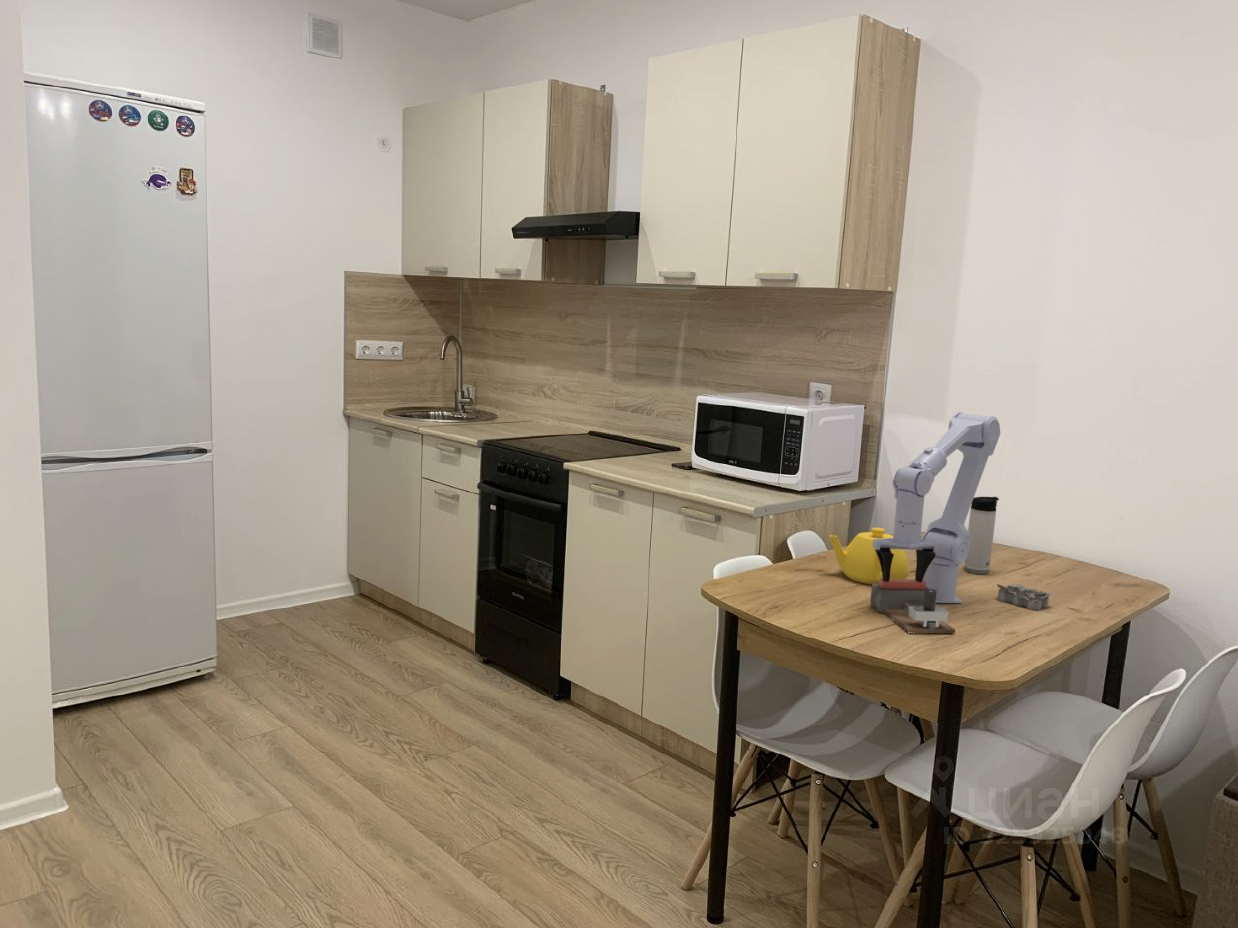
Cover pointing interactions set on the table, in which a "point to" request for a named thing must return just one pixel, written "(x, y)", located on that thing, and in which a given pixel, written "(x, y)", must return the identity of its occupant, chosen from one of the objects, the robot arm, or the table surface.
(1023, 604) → the egg carton
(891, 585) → the bar
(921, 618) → the carriage
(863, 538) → the teapot
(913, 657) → the table surface
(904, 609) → the rail stand
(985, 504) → the travel mug
